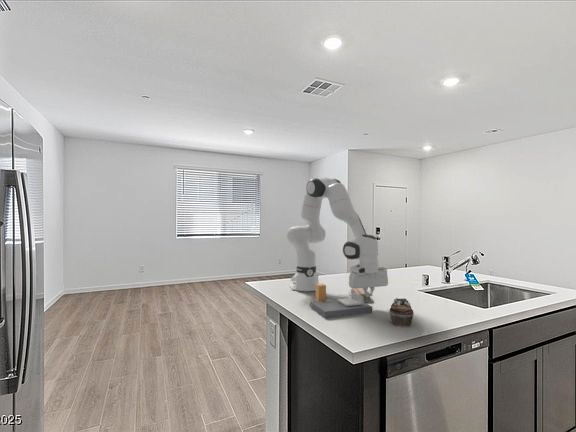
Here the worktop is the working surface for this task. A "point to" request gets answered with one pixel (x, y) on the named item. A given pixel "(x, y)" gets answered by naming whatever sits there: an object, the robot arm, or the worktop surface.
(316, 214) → the robot arm
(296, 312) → the worktop surface
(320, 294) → the orange block
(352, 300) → the shutter
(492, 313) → the worktop surface
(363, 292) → the packaged product
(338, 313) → the socket plate
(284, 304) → the worktop surface
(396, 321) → the cupcake
